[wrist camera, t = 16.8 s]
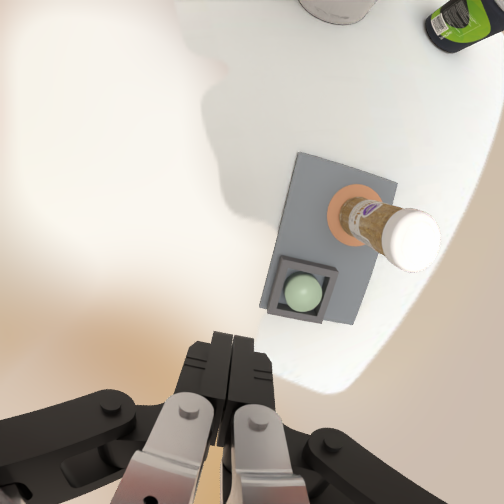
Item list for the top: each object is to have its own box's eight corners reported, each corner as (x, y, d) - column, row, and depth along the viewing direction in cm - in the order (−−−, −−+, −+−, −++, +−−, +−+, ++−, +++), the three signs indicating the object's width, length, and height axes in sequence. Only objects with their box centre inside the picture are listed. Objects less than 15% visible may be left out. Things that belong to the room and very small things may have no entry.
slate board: (298, 152, 31) (302, 150, 29) (394, 182, 32) (404, 183, 29) (259, 304, 35) (259, 314, 33) (351, 322, 36) (357, 331, 34)
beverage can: (454, 62, 27) (525, 33, 13) (419, 35, 26) (483, -9, 12) (460, 35, 26) (523, 3, 11) (427, 9, 25) (484, -34, 10)
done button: (288, 267, 33) (291, 273, 31) (322, 275, 34) (326, 281, 31) (279, 300, 34) (281, 308, 32) (312, 306, 35) (315, 314, 32)
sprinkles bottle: (354, 187, 31) (417, 197, 18) (382, 213, 32) (452, 237, 19) (329, 220, 32) (380, 249, 19) (358, 245, 33) (418, 286, 20)
